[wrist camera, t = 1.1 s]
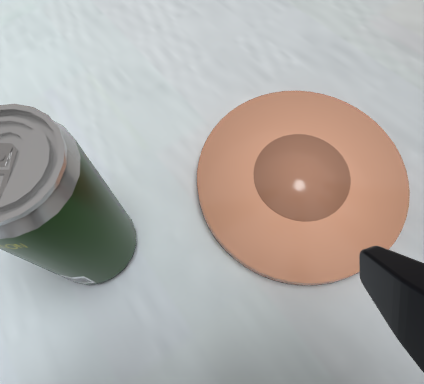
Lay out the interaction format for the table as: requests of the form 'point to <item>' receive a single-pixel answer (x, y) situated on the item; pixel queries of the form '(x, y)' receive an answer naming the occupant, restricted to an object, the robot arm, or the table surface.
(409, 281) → the robot arm
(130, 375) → the table surface
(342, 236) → the saucer
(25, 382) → the table surface
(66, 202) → the beer can
